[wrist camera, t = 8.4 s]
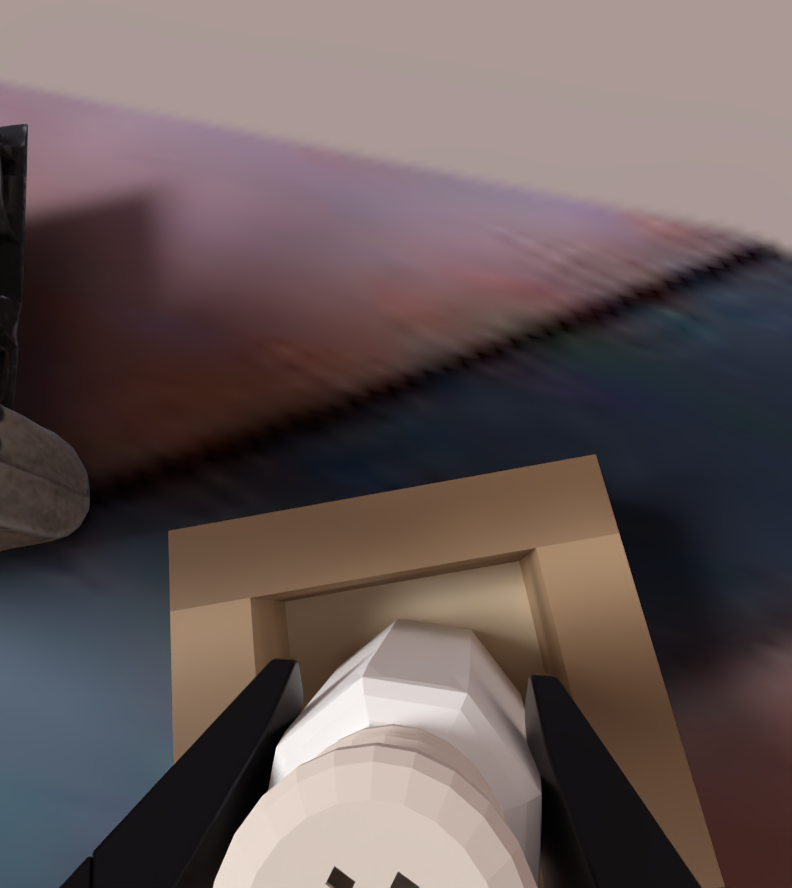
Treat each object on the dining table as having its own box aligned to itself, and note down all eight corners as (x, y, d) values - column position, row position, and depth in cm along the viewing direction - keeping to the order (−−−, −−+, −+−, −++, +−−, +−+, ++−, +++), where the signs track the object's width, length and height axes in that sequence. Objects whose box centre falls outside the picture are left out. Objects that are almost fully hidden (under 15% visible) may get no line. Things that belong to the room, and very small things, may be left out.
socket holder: (700, 927, 13) (802, 1048, 10) (235, 998, 14) (155, 1142, 10) (573, 473, 17) (610, 432, 13) (212, 537, 18) (149, 515, 14)
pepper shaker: (466, 888, 13) (546, 1872, 3) (287, 759, 14) (-119, 1101, 4) (560, 681, 14) (852, 822, 4) (388, 580, 16) (276, 489, 5)
